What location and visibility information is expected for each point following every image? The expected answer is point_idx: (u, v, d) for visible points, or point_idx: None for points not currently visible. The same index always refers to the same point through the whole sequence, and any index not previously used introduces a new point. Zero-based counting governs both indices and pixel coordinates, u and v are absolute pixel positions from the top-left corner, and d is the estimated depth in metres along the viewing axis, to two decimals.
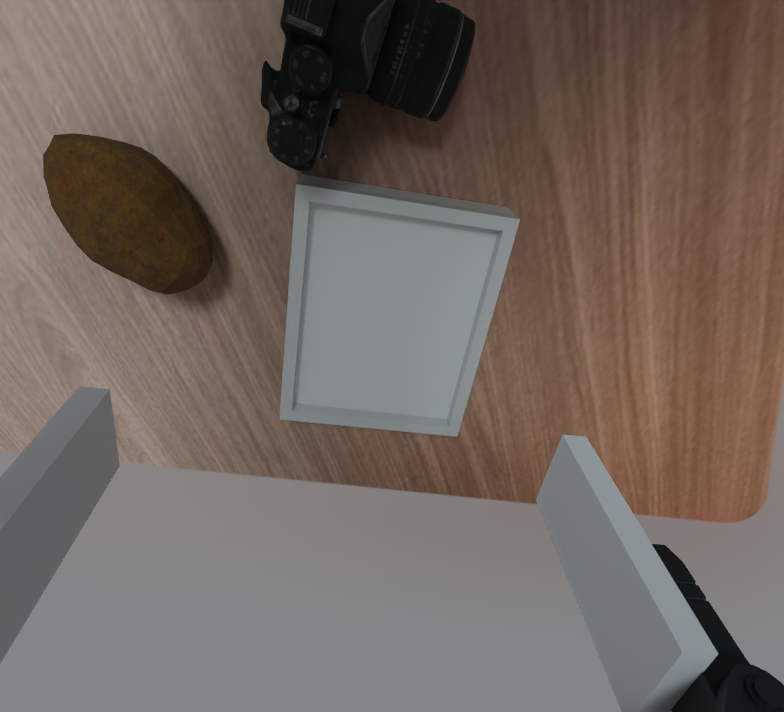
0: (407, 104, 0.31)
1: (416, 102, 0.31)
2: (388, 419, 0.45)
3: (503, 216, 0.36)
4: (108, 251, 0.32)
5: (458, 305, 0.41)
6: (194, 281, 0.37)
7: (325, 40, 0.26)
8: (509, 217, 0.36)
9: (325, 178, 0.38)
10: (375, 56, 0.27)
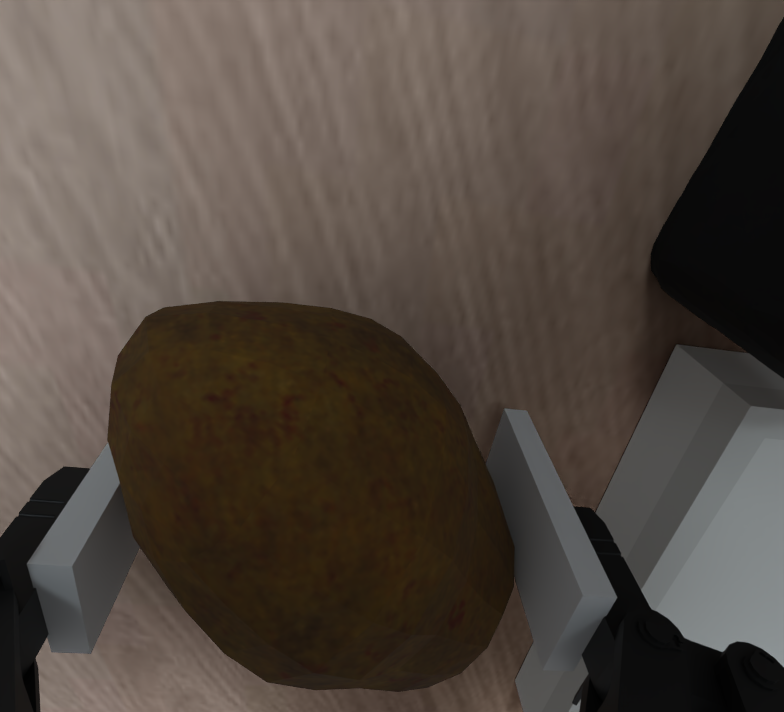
0: None
1: None
2: None
3: None
4: (311, 682, 0.10)
5: None
6: None
7: None
8: None
9: (728, 353, 0.17)
10: None
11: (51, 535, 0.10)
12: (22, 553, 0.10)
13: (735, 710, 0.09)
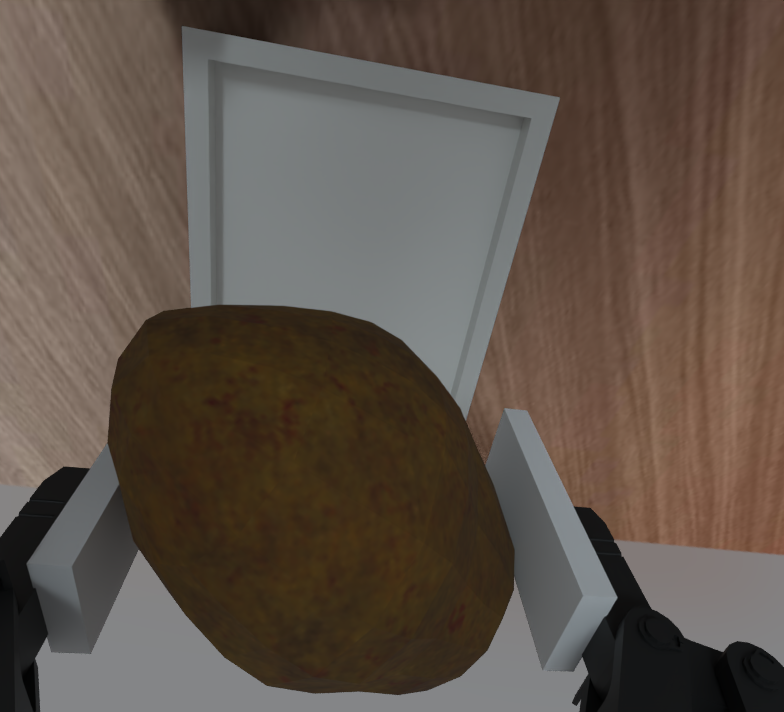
0: None
1: None
2: None
3: None
4: (311, 685, 0.10)
5: (458, 250, 0.27)
6: None
7: None
8: None
9: None
10: None
11: (51, 535, 0.10)
12: (22, 553, 0.10)
13: (735, 710, 0.09)
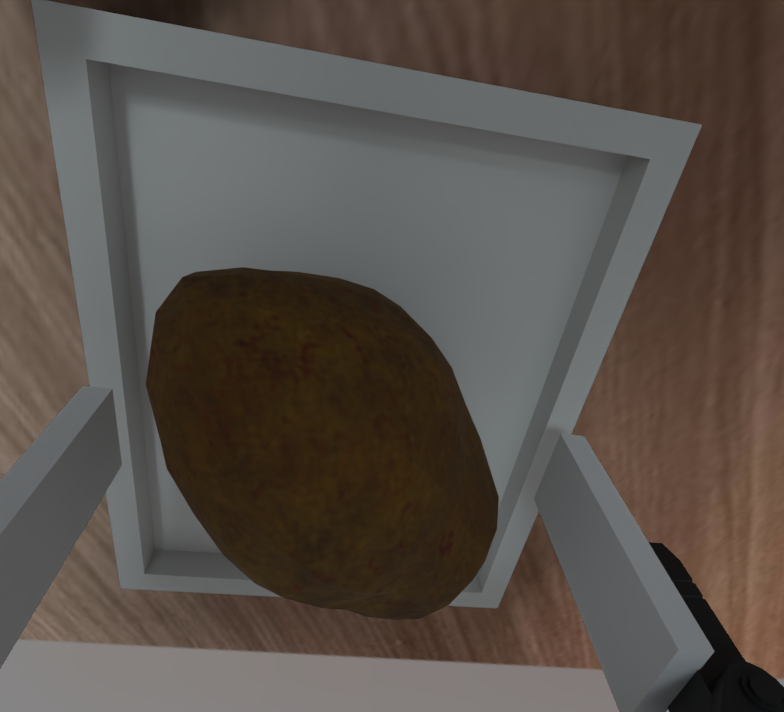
0: None
1: None
2: None
3: None
4: (319, 596, 0.12)
5: (510, 351, 0.17)
6: None
7: None
8: (671, 119, 0.13)
9: None
10: None
11: None
12: None
13: None
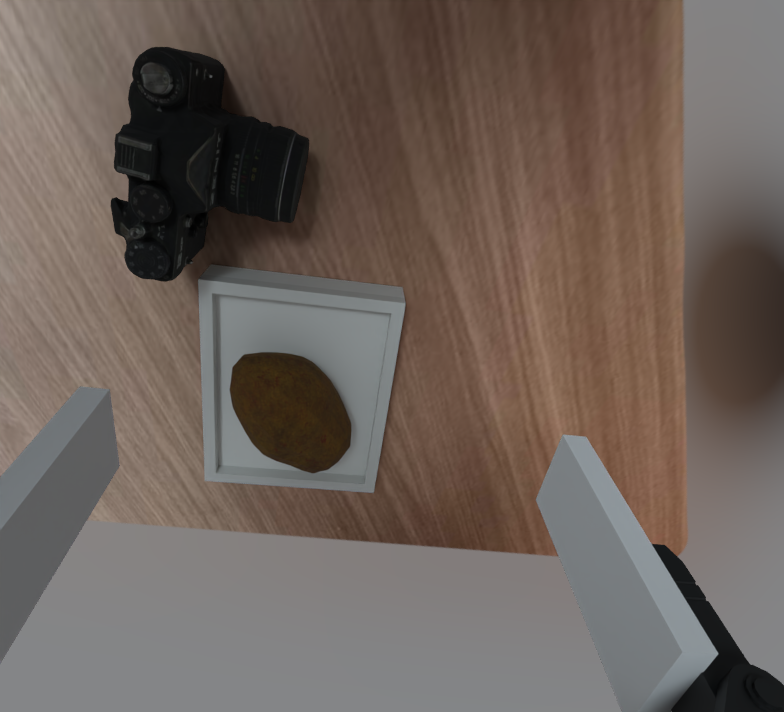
0: (257, 213, 0.35)
1: (262, 212, 0.35)
2: (307, 478, 0.48)
3: (390, 300, 0.40)
4: (282, 453, 0.39)
5: (362, 376, 0.45)
6: (338, 461, 0.43)
7: (159, 179, 0.30)
8: (396, 301, 0.40)
9: (232, 267, 0.42)
10: (208, 185, 0.31)
11: None
12: None
13: None
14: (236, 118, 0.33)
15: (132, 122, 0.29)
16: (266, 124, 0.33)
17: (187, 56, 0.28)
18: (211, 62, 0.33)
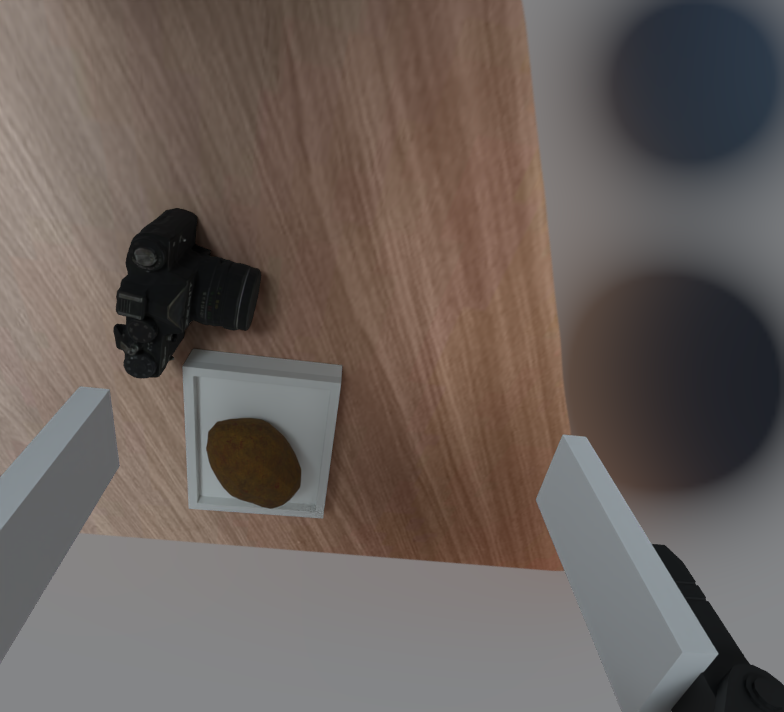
0: None
1: (225, 326, 0.47)
2: None
3: (329, 381, 0.53)
4: (245, 496, 0.52)
5: (311, 432, 0.57)
6: (290, 498, 0.56)
7: (147, 314, 0.43)
8: (333, 381, 0.53)
9: (209, 351, 0.54)
10: (183, 316, 0.44)
11: None
12: None
13: None
14: (204, 262, 0.45)
15: (128, 278, 0.42)
16: (227, 265, 0.46)
17: (166, 237, 0.40)
18: (186, 222, 0.45)
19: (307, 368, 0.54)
